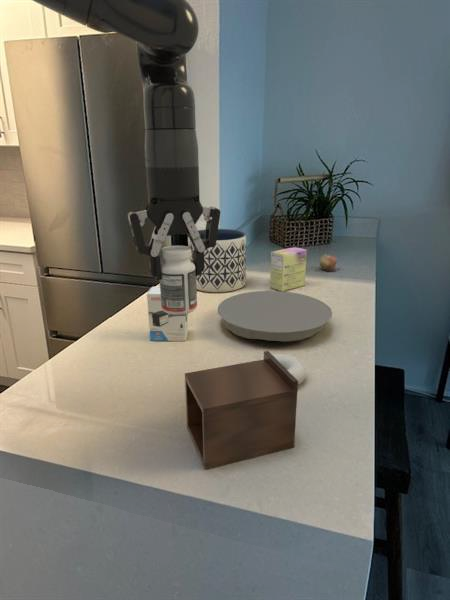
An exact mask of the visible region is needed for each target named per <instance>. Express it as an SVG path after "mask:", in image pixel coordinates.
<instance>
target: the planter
mask: <svg viewBox="0 0 450 600" xmlns="http://www.w3.org/2000/svg"><path fill="white" fill-rule="evenodd" d="M197 230H198V229H197ZM198 232H199V234H200V238H201V240H203V239H204V237H205V229H199V230H198ZM187 246H188V247H190V248H191V254H192V250H194V247H193V245H192V243H191V241H190V239H189V237H188V236H187ZM190 260H191V261H192V262H193V257H192V256H191V258H190ZM246 270H247V233H246V232H244V231H242V230H239V229H238V230H237V229H230V228H218V234H217V241H216V246H215V247H210V248H208V249H206V250H205V252H204V271H203V272H201V275H200V276H196V291H201V292H205V293H218V294H219V293H228V292H229V293H230V292H233V291H234V292H235V291H237V290H239V289H241V288H243V287H244V286H245V285H246V282H247V281H246V280H247V279H246V278H247V277H246V276H247V275H246V272H247V271H246Z"/></svg>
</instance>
